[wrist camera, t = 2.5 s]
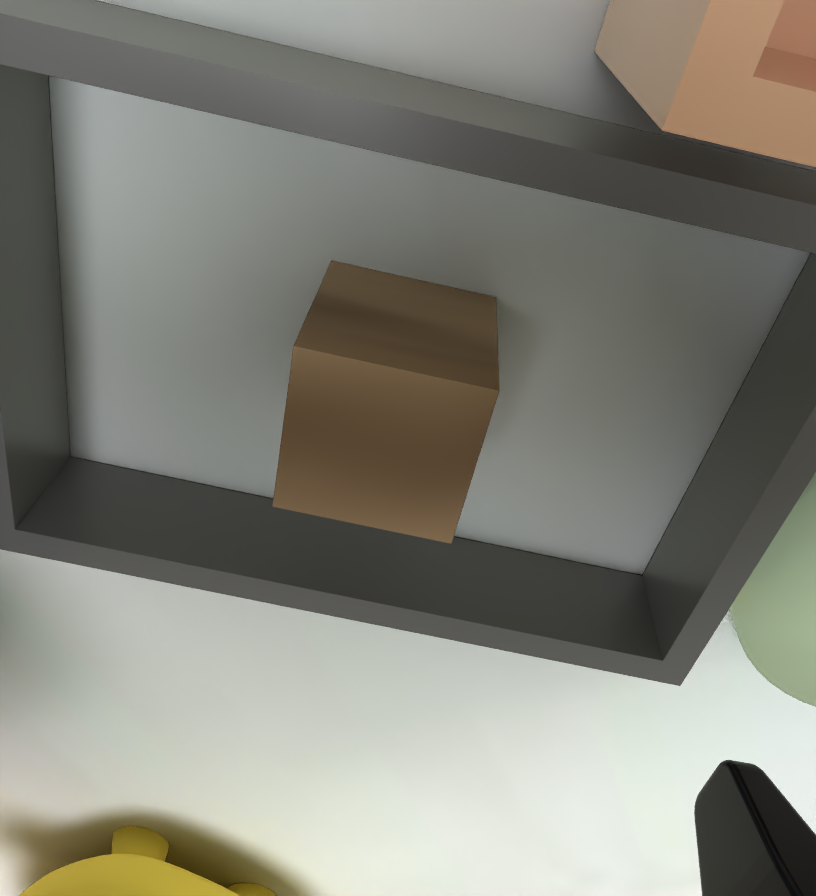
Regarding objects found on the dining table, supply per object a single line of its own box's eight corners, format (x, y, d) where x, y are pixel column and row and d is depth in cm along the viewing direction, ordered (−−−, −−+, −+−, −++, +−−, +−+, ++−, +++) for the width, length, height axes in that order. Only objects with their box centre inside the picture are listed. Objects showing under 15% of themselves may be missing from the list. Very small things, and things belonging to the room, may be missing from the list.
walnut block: (456, 432, 21) (451, 543, 17) (310, 400, 21) (272, 506, 17) (495, 296, 19) (499, 390, 15) (331, 259, 18) (293, 346, 15)
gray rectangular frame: (657, 600, 24) (680, 685, 21) (44, 472, 23) (-14, 546, 20) (885, 188, 16) (963, 239, 14) (2, -22, 15) (-96, -10, 13)
